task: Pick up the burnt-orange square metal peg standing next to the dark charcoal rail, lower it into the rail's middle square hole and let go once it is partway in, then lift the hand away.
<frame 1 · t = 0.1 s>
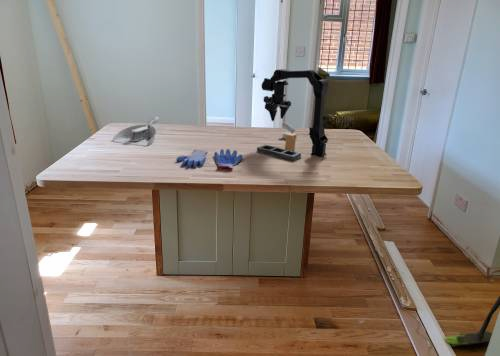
hand: (277, 119, 224), 15 cm above the table, fingers open, 9 cm apart
pair of gloves: (209, 162, 197), on the table
dustpan and brush: (144, 137, 232), on the table
wall hook: (288, 137, 244), on the table
orange peg: (289, 149, 220), on the table
rail: (278, 154, 211), on the table
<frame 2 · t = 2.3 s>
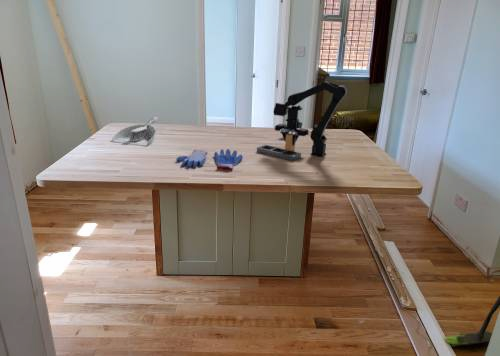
hand: (290, 144, 219), 3 cm above the table, fingers closed on orange peg, 4 cm apart
orange peg: (289, 149, 220), on the table, touching gripper
everything else where it was.
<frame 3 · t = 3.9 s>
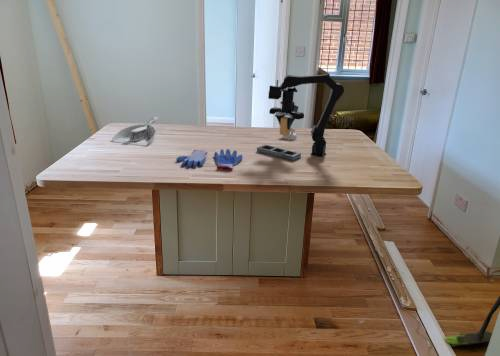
hand: (285, 128, 210), 13 cm above the table, fingers closed on orange peg, 4 cm apart
orange peg: (284, 134, 211), point 10 cm above the table, touching gripper
everything else where it was.
when the fingers open (4 cm above the table, at t = 5.8 s): orange peg drops 1 cm, resting in rail.
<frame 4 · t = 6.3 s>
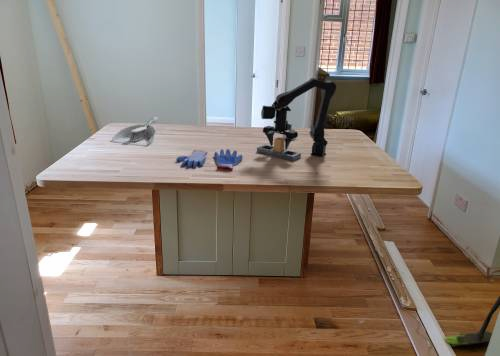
hand: (278, 147, 209), 4 cm above the table, fingers open, 9 cm apart
orange peg: (278, 154, 211), resting in rail
everything else where it was.
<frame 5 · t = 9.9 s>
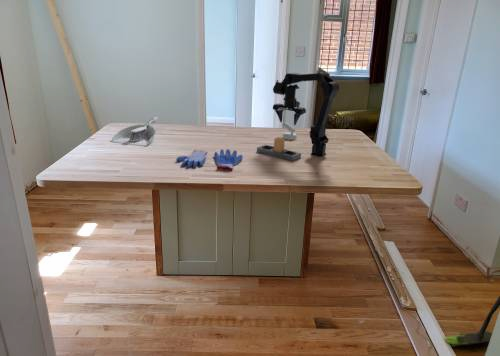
hand: (287, 123, 223), 13 cm above the table, fingers open, 9 cm apart
nothing on the table moved.
at the end: orange peg 0.0 cm off-centre on the rail, point 0.0 cm above the rail's base; orange peg tilted 0°; the gripper is holding nothing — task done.
